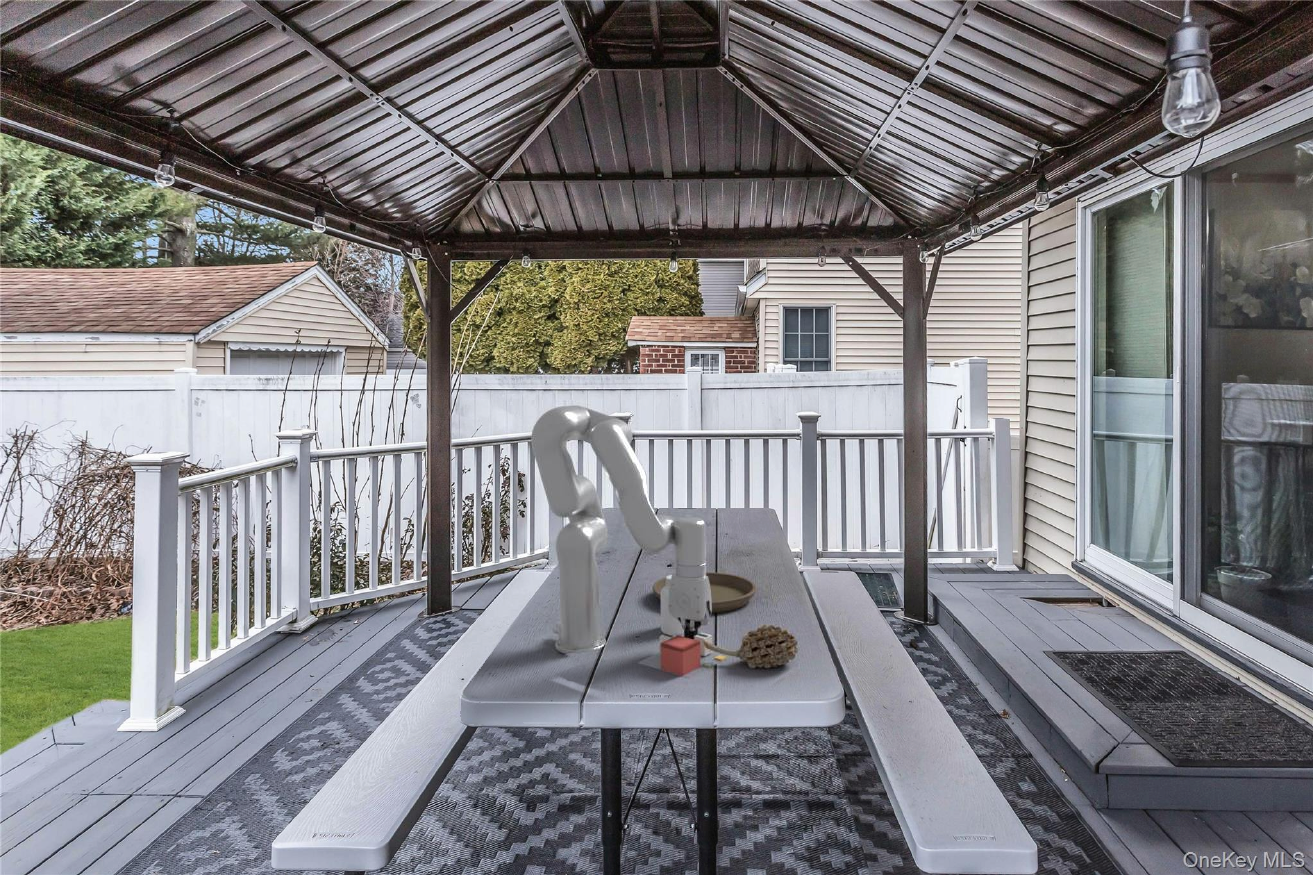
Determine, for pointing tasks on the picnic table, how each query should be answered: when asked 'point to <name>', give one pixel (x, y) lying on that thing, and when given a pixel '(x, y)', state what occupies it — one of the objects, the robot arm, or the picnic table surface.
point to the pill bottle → (667, 621)
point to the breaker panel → (705, 664)
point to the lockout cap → (680, 655)
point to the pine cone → (763, 647)
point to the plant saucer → (722, 591)
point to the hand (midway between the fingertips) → (691, 644)
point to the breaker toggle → (703, 649)
